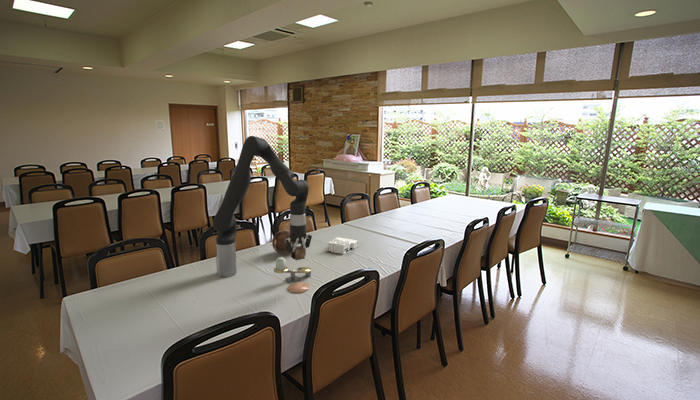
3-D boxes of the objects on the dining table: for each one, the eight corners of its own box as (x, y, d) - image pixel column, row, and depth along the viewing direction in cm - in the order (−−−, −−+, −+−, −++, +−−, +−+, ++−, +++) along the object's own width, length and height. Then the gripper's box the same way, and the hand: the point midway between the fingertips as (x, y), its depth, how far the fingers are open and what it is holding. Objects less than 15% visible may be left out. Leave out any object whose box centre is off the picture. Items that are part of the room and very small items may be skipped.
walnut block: (296, 260, 161) (296, 250, 160) (291, 257, 164) (291, 247, 163) (304, 258, 164) (304, 248, 163) (300, 255, 167) (300, 245, 166)
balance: (277, 287, 168) (277, 273, 166) (271, 282, 173) (271, 268, 172) (313, 277, 179) (313, 264, 178) (306, 273, 185) (306, 260, 183)
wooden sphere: (294, 248, 222) (294, 226, 219) (299, 256, 208) (299, 232, 205) (270, 251, 216) (270, 228, 213) (274, 259, 203) (274, 235, 200)
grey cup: (278, 271, 168) (278, 261, 166) (274, 268, 171) (274, 257, 170) (287, 269, 170) (287, 259, 169) (283, 266, 174) (282, 256, 173)
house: (349, 257, 209) (349, 247, 208) (322, 252, 216) (322, 243, 215) (363, 246, 229) (363, 237, 228) (338, 242, 236) (338, 233, 235)
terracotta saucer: (294, 295, 160) (294, 293, 160) (284, 287, 168) (284, 285, 168) (312, 289, 166) (312, 288, 166) (302, 282, 174) (302, 280, 174)
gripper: (287, 227, 153) (288, 263, 157) (315, 222, 162) (315, 256, 165) (280, 223, 159) (281, 258, 163) (307, 218, 168) (307, 252, 171)
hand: (298, 257), depth 164 cm, fingers closed on walnut block, 4 cm apart
